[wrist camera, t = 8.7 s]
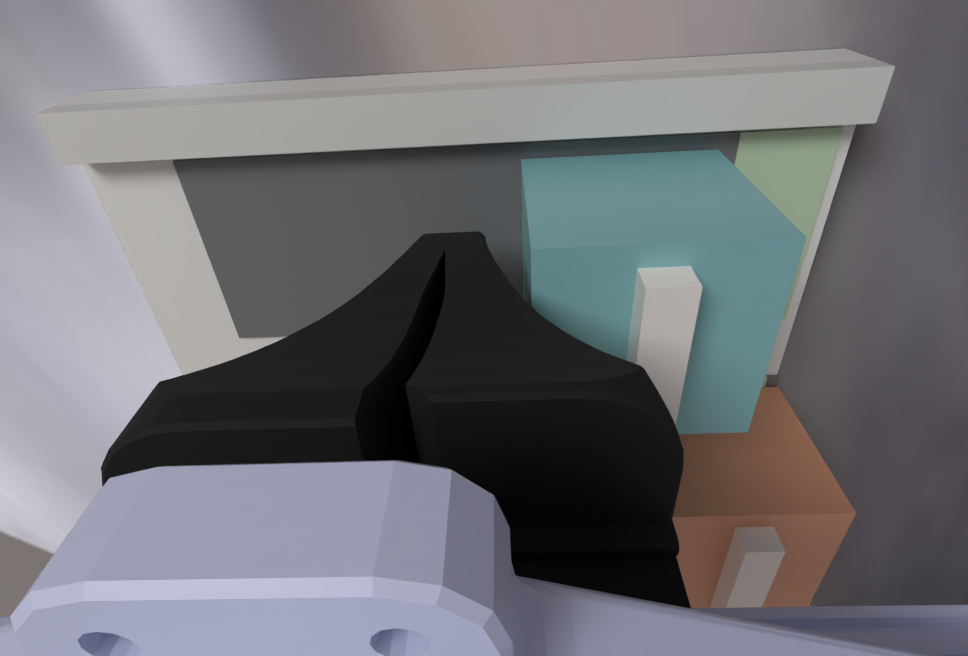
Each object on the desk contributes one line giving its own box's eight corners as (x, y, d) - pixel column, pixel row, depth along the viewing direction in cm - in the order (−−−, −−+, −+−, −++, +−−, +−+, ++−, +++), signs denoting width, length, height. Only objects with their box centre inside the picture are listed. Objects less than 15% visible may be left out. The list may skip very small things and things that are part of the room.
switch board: (844, 48, 12) (895, 66, 10) (713, 509, 20) (731, 555, 19) (89, 91, 12) (35, 113, 11) (275, 519, 21) (258, 563, 20)
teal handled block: (717, 149, 11) (826, 257, 8) (687, 312, 14) (759, 456, 10) (520, 158, 12) (533, 268, 8) (523, 318, 14) (534, 463, 10)
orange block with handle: (778, 386, 15) (871, 538, 11) (746, 484, 17) (815, 638, 14) (627, 391, 15) (670, 542, 12) (615, 488, 18) (648, 640, 14)
